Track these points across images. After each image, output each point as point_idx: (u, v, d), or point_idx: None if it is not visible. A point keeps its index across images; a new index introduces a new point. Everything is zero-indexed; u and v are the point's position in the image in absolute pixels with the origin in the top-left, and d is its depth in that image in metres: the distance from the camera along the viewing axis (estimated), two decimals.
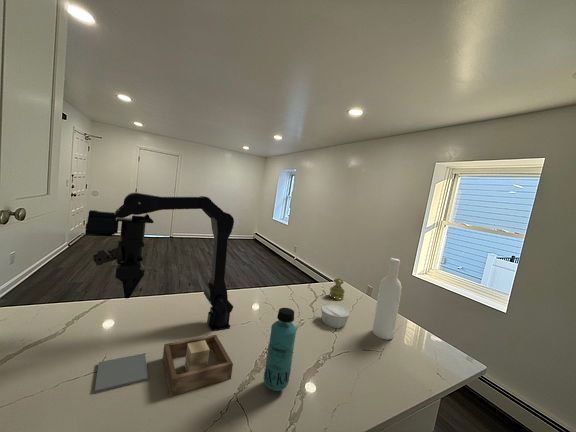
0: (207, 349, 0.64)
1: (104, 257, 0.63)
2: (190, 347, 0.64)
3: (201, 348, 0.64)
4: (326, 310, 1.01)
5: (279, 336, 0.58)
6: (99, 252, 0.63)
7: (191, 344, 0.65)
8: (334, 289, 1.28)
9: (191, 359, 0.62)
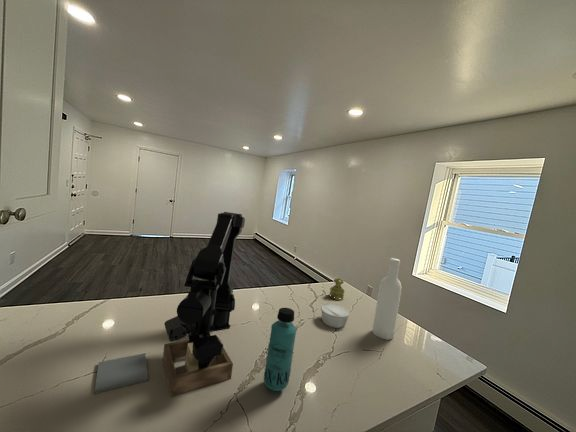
0: None
1: (181, 334, 0.58)
2: (190, 347, 0.64)
3: None
4: (326, 310, 1.01)
5: (279, 336, 0.59)
6: (176, 329, 0.57)
7: (191, 344, 0.65)
8: (334, 289, 1.28)
9: (191, 359, 0.62)
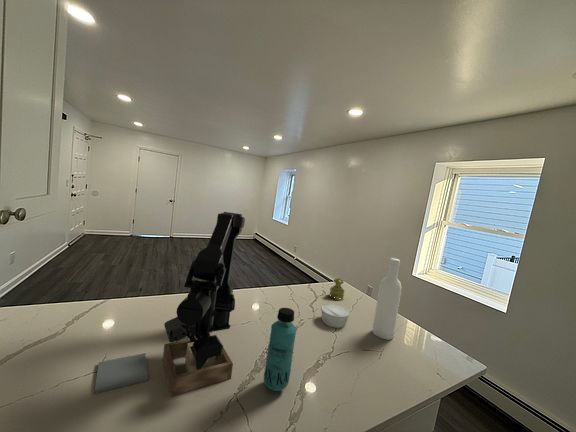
0: None
1: (180, 335, 0.58)
2: None
3: None
4: (326, 310, 1.01)
5: (279, 336, 0.58)
6: (176, 330, 0.57)
7: (191, 344, 0.65)
8: (334, 289, 1.28)
9: (191, 359, 0.62)
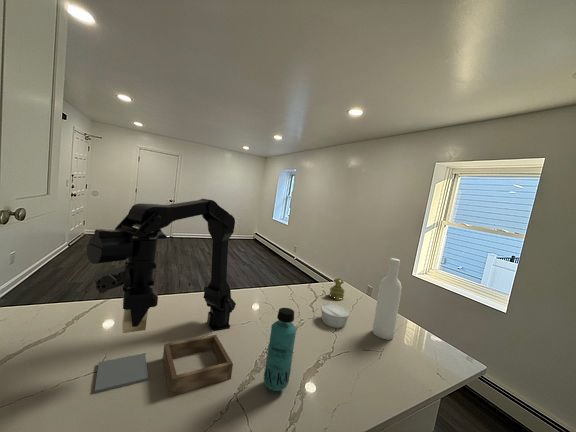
0: None
1: (109, 284, 0.52)
2: None
3: None
4: (326, 310, 1.01)
5: (279, 336, 0.58)
6: (103, 277, 0.52)
7: None
8: (334, 289, 1.28)
9: (126, 314, 0.57)
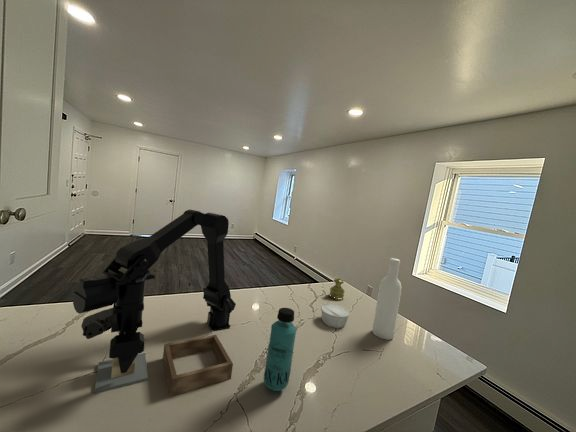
0: None
1: (96, 331, 0.53)
2: None
3: None
4: (326, 310, 1.01)
5: (279, 336, 0.58)
6: (90, 325, 0.52)
7: None
8: (334, 289, 1.28)
9: (114, 359, 0.57)
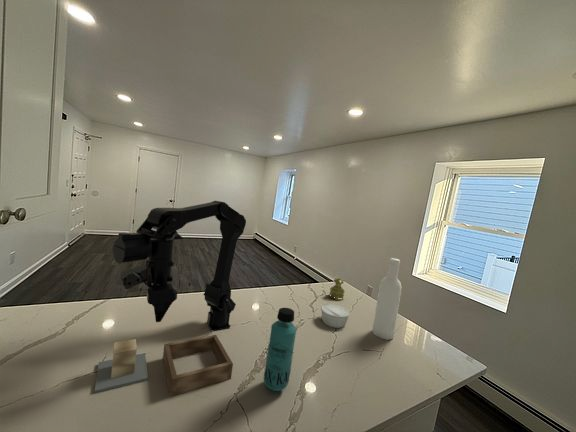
0: (133, 349, 0.59)
1: (134, 281, 0.59)
2: (115, 346, 0.59)
3: (127, 348, 0.59)
4: (326, 310, 1.01)
5: (279, 336, 0.58)
6: (129, 275, 0.58)
7: (118, 343, 0.60)
8: (334, 289, 1.28)
9: (114, 359, 0.57)
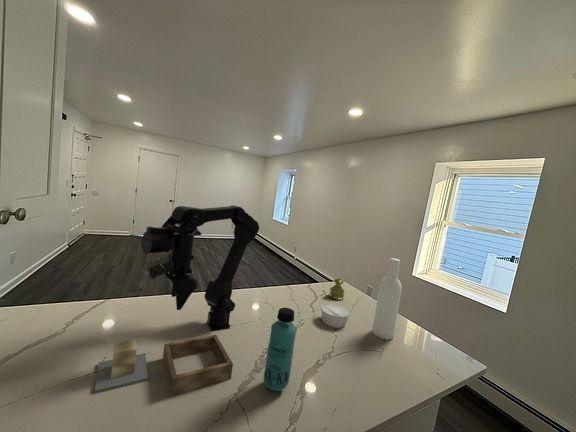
0: (133, 349, 0.59)
1: (160, 271, 0.65)
2: (115, 346, 0.59)
3: (127, 348, 0.59)
4: (326, 310, 1.01)
5: (279, 336, 0.58)
6: (155, 266, 0.65)
7: (118, 343, 0.60)
8: (334, 289, 1.28)
9: (114, 359, 0.57)
